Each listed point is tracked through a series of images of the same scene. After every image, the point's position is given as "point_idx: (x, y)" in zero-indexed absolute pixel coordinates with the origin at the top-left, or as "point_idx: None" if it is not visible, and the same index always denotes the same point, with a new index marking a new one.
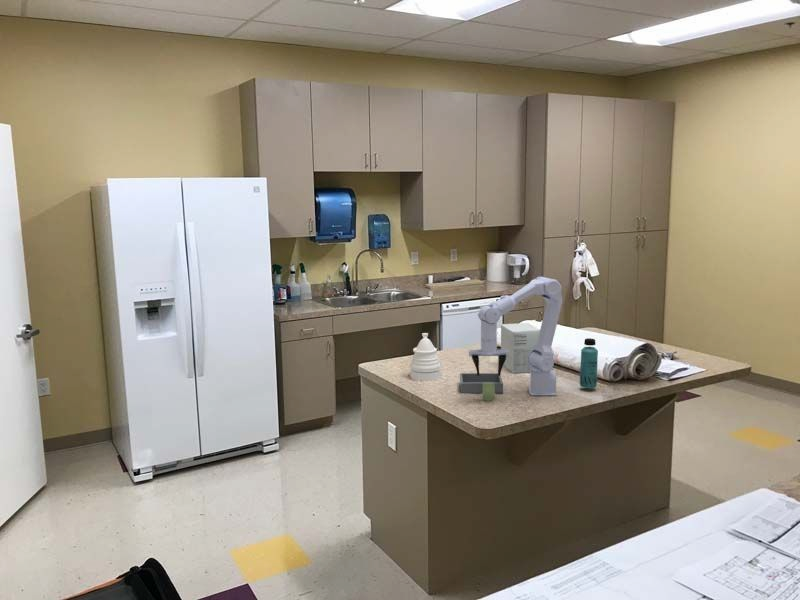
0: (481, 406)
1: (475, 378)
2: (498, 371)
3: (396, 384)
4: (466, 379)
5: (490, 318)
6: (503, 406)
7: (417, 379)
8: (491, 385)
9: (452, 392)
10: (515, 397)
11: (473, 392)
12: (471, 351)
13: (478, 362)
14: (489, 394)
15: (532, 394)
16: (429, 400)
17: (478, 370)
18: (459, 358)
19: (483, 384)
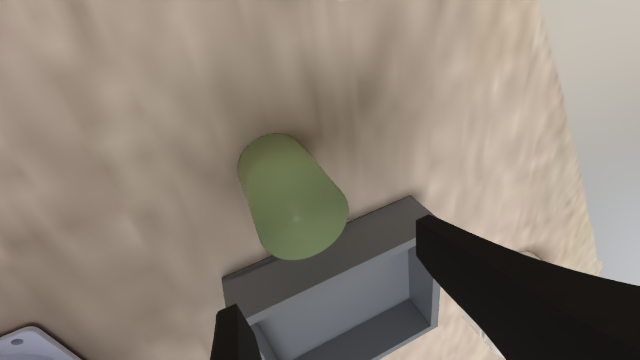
0: (288, 11)
1: (371, 334)
2: (247, 353)
3: (584, 193)
4: (400, 314)
5: None
6: (123, 54)
7: (527, 253)
8: (276, 196)
9: (440, 194)
10: (124, 259)
11: (362, 220)
12: None
13: (588, 318)
14: (271, 154)
15: (17, 334)
16: (539, 52)
17: (467, 244)
18: None
19: (340, 194)
